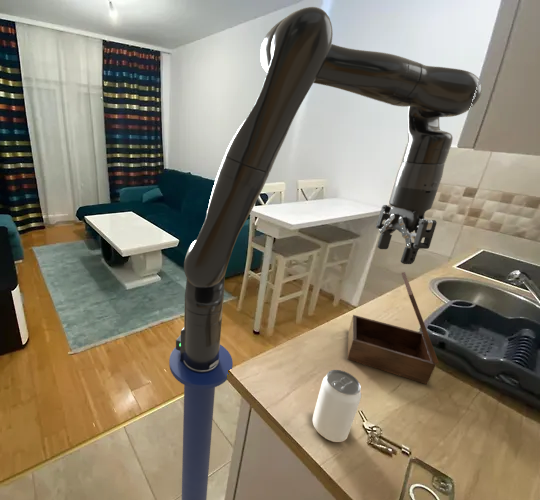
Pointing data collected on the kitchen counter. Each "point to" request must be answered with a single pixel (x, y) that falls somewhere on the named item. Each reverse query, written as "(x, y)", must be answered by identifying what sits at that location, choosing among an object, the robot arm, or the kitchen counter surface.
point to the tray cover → (419, 318)
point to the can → (336, 405)
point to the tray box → (390, 349)
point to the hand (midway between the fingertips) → (393, 255)
